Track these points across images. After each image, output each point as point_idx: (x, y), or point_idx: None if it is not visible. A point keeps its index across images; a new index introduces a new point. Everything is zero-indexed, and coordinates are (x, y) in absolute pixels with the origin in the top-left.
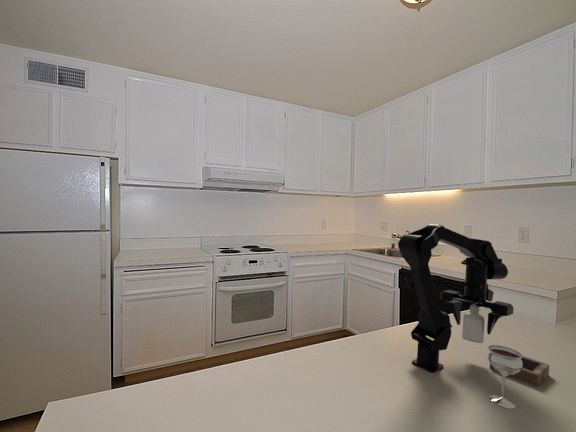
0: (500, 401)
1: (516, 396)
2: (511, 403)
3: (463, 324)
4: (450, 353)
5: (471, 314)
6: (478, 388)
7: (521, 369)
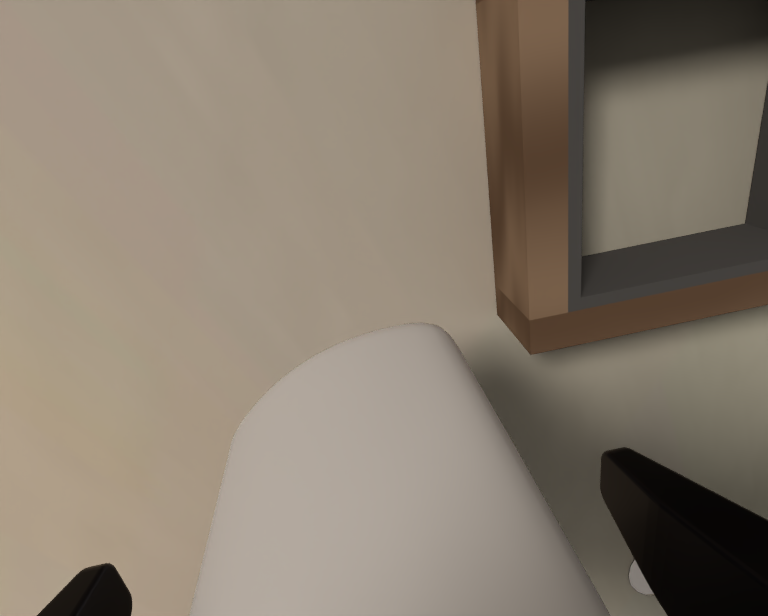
0: None
1: (707, 474)
2: None
3: None
4: (207, 390)
5: None
6: None
7: (757, 305)
